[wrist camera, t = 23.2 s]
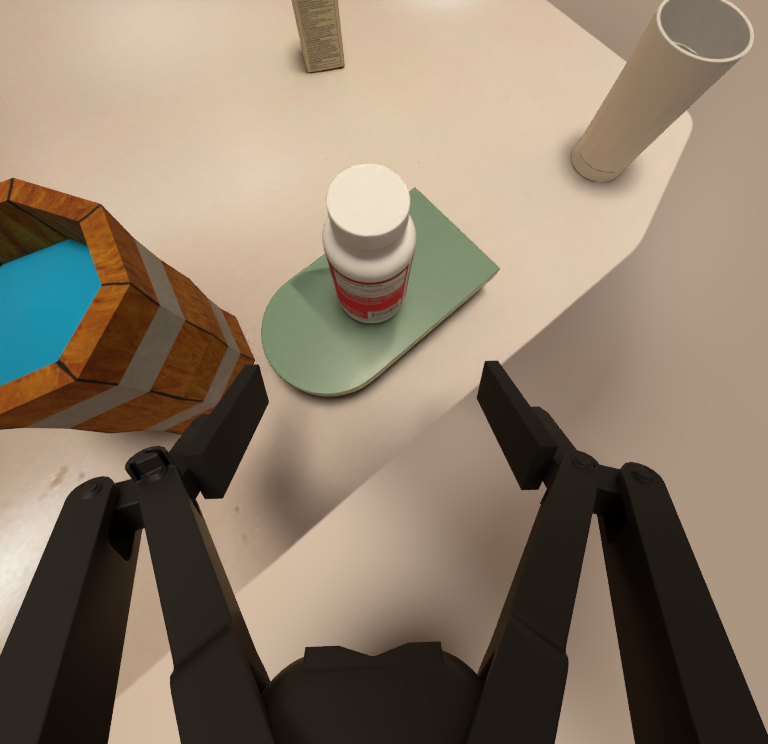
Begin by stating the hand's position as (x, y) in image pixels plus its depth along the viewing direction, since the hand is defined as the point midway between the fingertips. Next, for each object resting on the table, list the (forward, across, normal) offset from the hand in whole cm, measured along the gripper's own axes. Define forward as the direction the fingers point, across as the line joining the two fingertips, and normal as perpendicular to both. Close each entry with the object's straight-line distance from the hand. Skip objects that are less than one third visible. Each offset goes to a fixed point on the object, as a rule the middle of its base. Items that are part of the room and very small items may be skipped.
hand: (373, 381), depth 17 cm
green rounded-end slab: (+15, 0, -1) cm, 15 cm away
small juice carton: (+40, -6, +24) cm, 47 cm away
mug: (+13, -21, -4) cm, 25 cm away
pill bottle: (+12, 0, +1) cm, 12 cm away
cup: (+29, +28, +12) cm, 42 cm away
